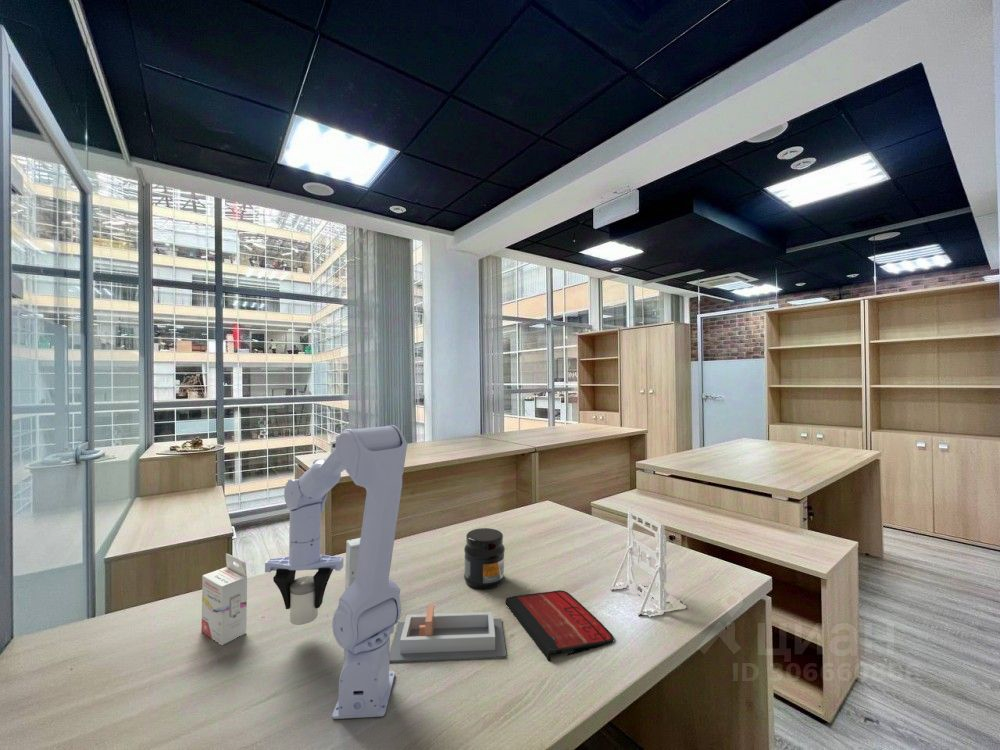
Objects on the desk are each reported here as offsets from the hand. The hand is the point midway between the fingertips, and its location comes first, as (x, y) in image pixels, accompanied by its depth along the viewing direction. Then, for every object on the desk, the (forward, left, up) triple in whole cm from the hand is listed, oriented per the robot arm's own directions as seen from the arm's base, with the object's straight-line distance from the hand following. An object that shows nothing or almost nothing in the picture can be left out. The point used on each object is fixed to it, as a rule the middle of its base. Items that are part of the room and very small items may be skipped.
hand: (304, 606), depth 82 cm
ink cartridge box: (+3, +17, -7) cm, 19 cm away
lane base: (-2, -29, -7) cm, 30 cm away
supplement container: (+22, -37, -7) cm, 44 cm away
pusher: (-2, -24, -6) cm, 25 cm away
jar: (0, 0, -2) cm, 2 cm away
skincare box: (+19, -6, -7) cm, 21 cm away
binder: (+3, -52, -7) cm, 53 cm away
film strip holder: (+11, -76, -7) cm, 77 cm away
